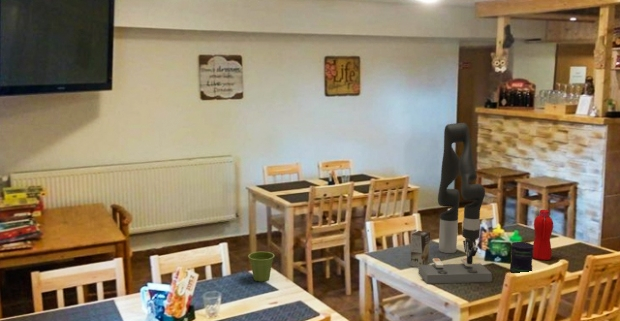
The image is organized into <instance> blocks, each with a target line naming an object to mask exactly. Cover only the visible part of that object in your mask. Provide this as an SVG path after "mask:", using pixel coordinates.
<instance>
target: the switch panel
mask: <svg viewBox="0 0 620 321" xmlns="http://www.w3.org/2000/svg"><path fill="white" fill-rule="evenodd" d="M442 264H443V267H438V268H437V267H436V266H435V264H434V263H431V264H427V265H419V267H418V275H419V276H420V277H421V279H422V280H423V281H424V282H425V284H428V285H430V284H432V285H433V284H434V285H435V284H462V283H463V284H464V283H466V284H467V283H469V284H470V283H491V282H492V280H493V278H492V277H493V274H492V272H491V271H490V270H489V269H487V267H485V266H484V265H483V264H482V263H481V262H480V263H473V266H466V265H465V264H464V263H463V262H462V263H453V264H451V263H449V264H447V263H446V264H445V263H442Z"/></svg>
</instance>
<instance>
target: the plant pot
mask: <svg viewBox="0 0 620 321" xmlns="http://www.w3.org/2000/svg"><path fill="white" fill-rule="evenodd" d="M247 257H248V259H249V262H250V264H251V272H252V277H253V280H254V281H255V282H257V281H258V282H267V281H269V280H270V276H271V271H272V264H273V262H274V258H275V254H274V253H272V252H270V251H254V252H251V253H249V254H248V256H247Z"/></svg>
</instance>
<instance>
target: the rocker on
mask: <svg viewBox="0 0 620 321" xmlns="http://www.w3.org/2000/svg"><path fill="white" fill-rule="evenodd" d="M460 261H461V262H462V263H464V264H465V265H466V266H473V264H474V263H473V262H472V264H468V263H467V257H463V258H462V257H461V259H460Z"/></svg>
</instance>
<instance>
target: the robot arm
mask: <svg viewBox="0 0 620 321" xmlns="http://www.w3.org/2000/svg"><path fill="white" fill-rule="evenodd" d="M443 130H444V131H443V132H444V133H443V155H442V161H441V162H442V163H441V171H440V181H439V182H440V183H439V187H438V188H439V189H438V193H437V203H438V205H439V207H449V209H447V210H446V211H442V212H441V213H440V214H439V236H438V251H439V252H440V253H446V254H454V253H456V252H457V248H458V247H457V244H458V228H459V227H458V225H459V224H458V223H459V207H460V195H461V197H462V198H463V199H464V200H466V201H471V200H472V202H471V203H467V204H466V205H465V206H464V207H463V208H464V210H463V220H462V237H463V238H464V239H465V240H463V241H462V243H463V248H464V253H465V255H466V258H467V263H468V264H472V263H473V261H474V260H473V257H475V256H476V254H477V252H478V250H479V248H478V247H476V246H477V242H476V240H477V239H479V238H480V232H481V231H480V230H481V222H480V221H481V220H480V218H481V208H482V205H483V201H484V198H485V196H486V190H485V187H484V186H483V184H479V183H475V184H473V183H472V182H474V181H475V180H476V179H477V178H478V176H477V171H476V168H475V164H474V160H473V159H474V158H473V150H472V142H471V141H472V140H471V136H470V135H471V134H470V129H469V126H468V124H467V123H466V122H457V123H448V124H446V125H445V127H444V129H443ZM453 143H454V144H455V143H456V144H457V143H463V150H462V153H461V155H460V157H459V155H458V154H457V153H456V152H455V149H454V148H453ZM459 175H460V179H461V180H460V181H461V182H460V183H461V184H460V185H461V186H460V190H459V189H455V188H449V186H450V185H452V183H453V182H454V181H456V179H457V178H458V177H459ZM470 183H472V184H470ZM450 207H451V208H450Z"/></svg>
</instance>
